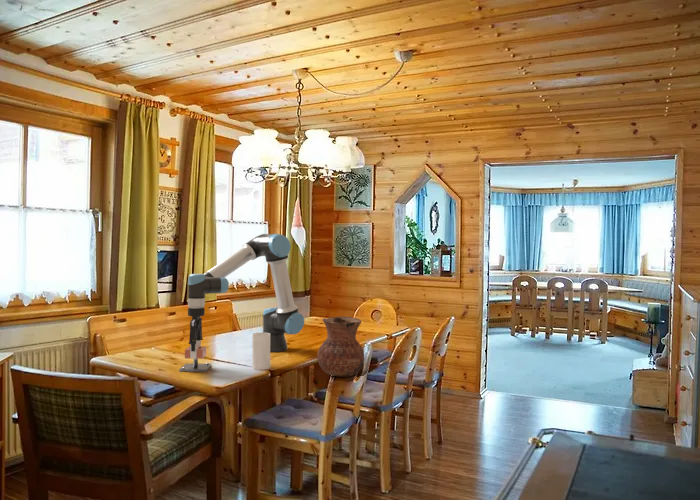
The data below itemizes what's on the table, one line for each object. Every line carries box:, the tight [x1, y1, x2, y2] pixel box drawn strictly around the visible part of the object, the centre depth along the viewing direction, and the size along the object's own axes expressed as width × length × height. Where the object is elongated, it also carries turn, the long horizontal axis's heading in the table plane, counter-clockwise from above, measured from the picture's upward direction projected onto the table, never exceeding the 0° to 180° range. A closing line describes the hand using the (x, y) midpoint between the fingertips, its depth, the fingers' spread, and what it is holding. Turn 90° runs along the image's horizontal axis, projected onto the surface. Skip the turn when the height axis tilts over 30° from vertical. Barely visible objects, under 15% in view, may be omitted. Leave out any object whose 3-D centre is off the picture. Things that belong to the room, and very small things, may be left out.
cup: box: [251, 332, 271, 371], centre depth 257 cm, size 8×8×16 cm
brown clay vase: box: [317, 316, 365, 378], centre depth 248 cm, size 22×21×25 cm
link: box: [184, 346, 207, 360], centre depth 253 cm, size 8×8×4 cm
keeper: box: [178, 348, 212, 373], centre depth 253 cm, size 12×12×10 cm
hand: (195, 356), depth 253 cm, fingers closed on link, 8 cm apart
